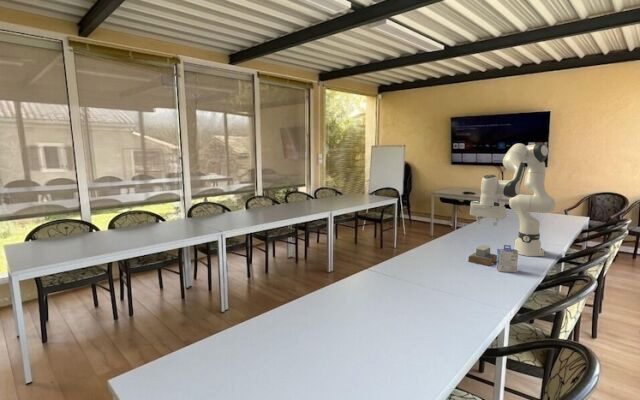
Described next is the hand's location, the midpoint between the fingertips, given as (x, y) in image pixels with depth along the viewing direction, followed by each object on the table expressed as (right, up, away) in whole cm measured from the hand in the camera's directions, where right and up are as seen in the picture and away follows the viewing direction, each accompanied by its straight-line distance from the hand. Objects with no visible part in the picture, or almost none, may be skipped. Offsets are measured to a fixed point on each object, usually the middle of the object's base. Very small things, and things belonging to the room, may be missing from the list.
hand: (486, 224), depth 212 cm
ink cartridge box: (+5, -26, -13) cm, 29 cm away
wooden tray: (-1, -23, +4) cm, 23 cm away
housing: (-1, -19, +3) cm, 19 cm away
